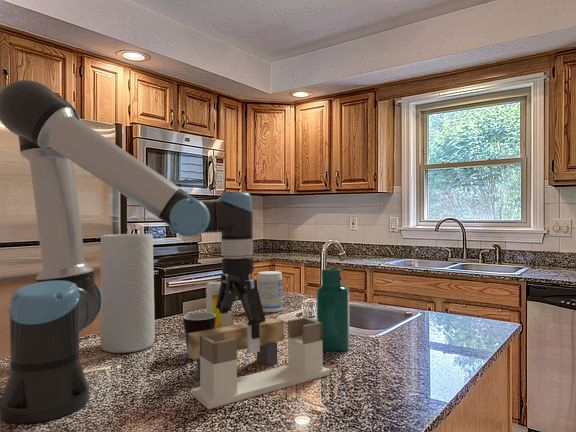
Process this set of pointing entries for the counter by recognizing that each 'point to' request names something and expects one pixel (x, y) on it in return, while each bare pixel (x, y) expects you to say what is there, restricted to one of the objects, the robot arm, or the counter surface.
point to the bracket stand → (228, 388)
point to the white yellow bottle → (213, 301)
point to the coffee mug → (198, 323)
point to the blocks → (259, 355)
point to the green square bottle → (333, 311)
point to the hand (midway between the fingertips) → (239, 345)
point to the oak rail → (239, 335)
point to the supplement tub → (270, 290)
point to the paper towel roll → (127, 292)
